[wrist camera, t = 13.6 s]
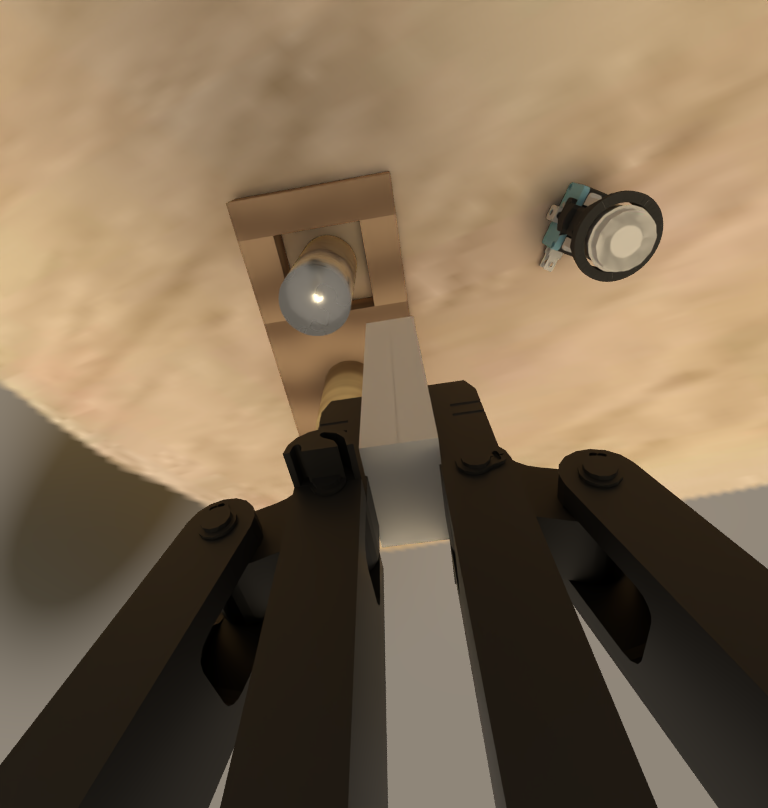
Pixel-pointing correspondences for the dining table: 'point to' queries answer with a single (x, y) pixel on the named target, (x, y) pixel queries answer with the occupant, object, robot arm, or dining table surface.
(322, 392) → the jig
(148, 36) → the dining table surface
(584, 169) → the dining table surface
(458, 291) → the dining table surface
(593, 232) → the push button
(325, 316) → the tan grey cylinder
